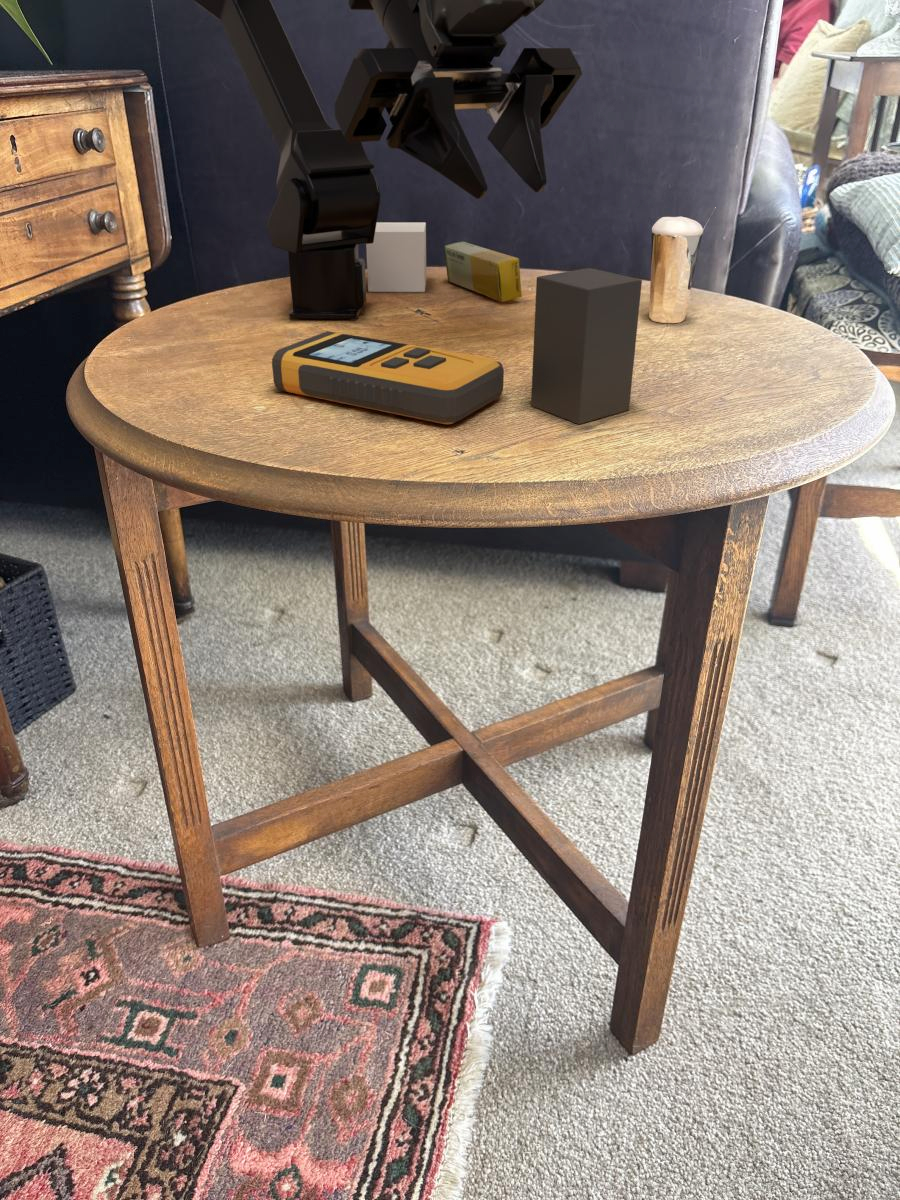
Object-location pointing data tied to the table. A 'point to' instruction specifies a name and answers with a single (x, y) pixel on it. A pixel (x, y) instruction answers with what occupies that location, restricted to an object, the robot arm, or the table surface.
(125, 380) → the table surface
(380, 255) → the white cube
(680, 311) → the milkshake
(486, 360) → the electronic device
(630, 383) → the block
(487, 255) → the medication box
